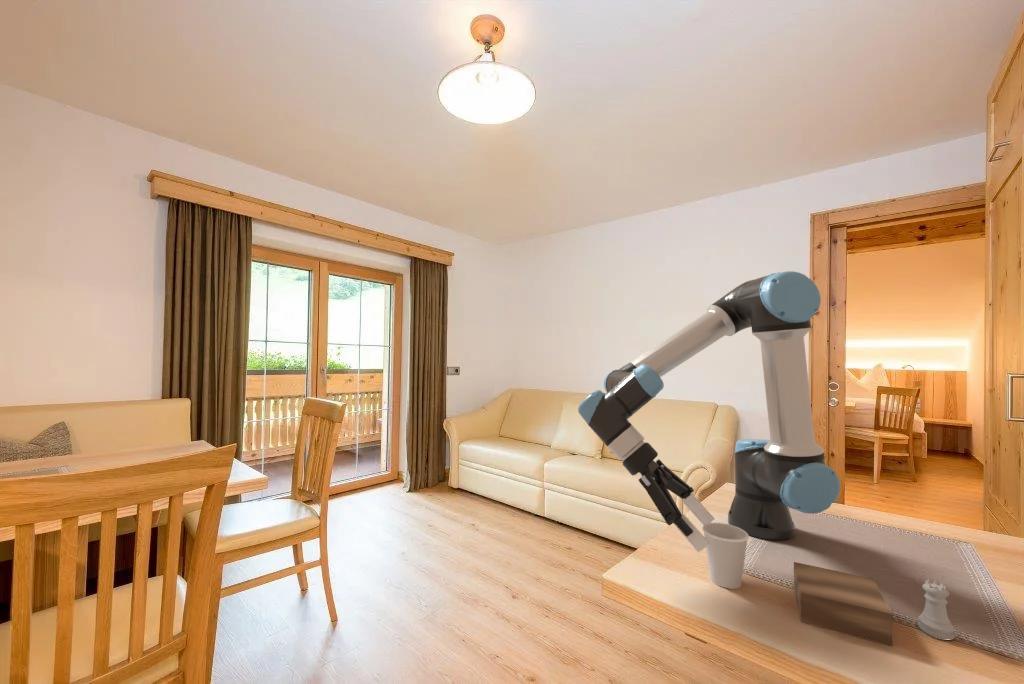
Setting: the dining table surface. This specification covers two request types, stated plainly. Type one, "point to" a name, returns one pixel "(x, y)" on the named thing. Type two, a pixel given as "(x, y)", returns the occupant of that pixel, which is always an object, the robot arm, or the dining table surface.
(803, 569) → the walnut block
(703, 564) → the dining table surface
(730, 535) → the dixie cup
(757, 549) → the dining table surface
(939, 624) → the rook chess piece
